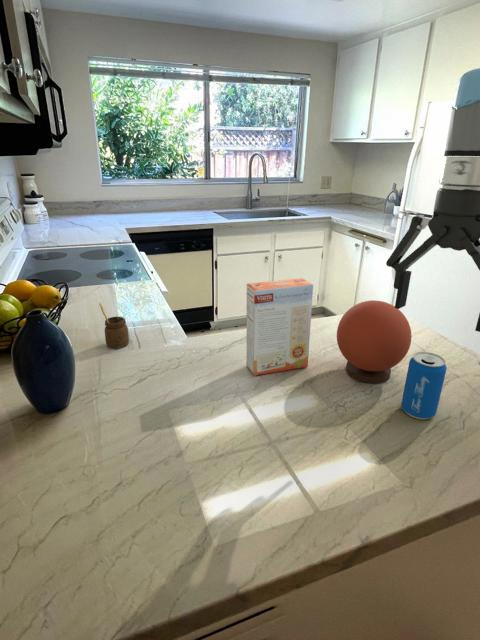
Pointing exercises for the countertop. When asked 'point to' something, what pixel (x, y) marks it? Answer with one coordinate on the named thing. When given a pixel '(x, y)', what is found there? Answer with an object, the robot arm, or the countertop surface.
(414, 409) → the beverage can
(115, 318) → the brown jar with stick
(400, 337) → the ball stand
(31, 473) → the countertop surface
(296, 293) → the cracker box
